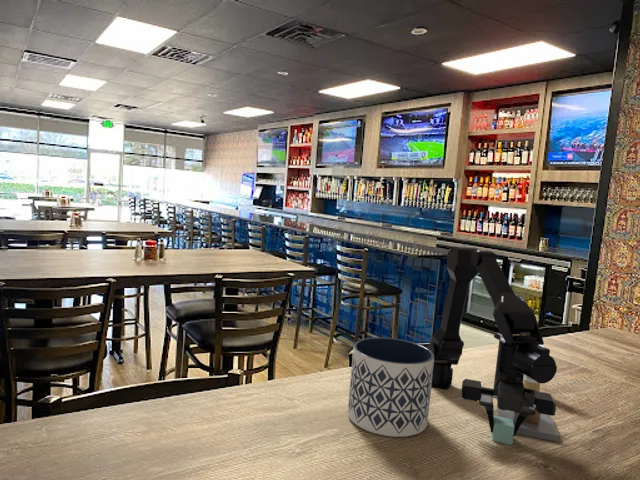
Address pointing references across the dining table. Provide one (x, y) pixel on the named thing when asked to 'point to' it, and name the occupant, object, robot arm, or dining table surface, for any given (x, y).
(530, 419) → the walnut block
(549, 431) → the slate board
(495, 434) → the teal block
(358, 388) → the planter
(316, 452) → the dining table surface
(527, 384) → the sprinkles bottle
